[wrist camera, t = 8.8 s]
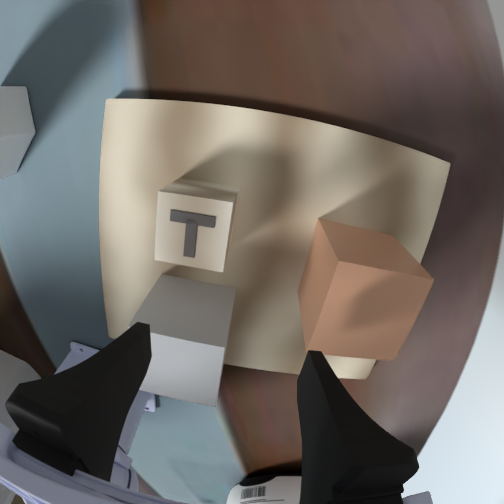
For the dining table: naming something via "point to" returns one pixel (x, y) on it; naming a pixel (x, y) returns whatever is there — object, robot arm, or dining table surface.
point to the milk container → (267, 490)
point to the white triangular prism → (3, 384)
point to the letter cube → (195, 223)
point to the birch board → (253, 210)
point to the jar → (14, 128)
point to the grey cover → (186, 337)
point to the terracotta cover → (359, 292)
